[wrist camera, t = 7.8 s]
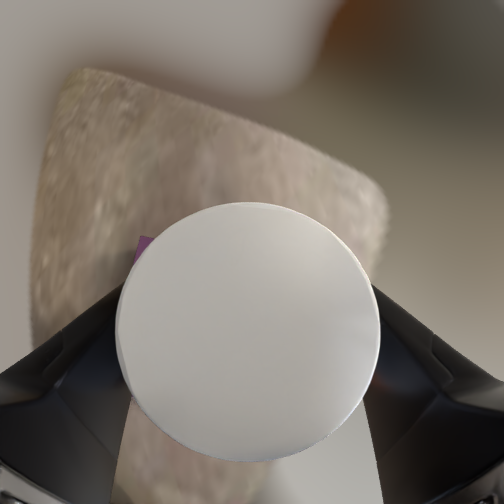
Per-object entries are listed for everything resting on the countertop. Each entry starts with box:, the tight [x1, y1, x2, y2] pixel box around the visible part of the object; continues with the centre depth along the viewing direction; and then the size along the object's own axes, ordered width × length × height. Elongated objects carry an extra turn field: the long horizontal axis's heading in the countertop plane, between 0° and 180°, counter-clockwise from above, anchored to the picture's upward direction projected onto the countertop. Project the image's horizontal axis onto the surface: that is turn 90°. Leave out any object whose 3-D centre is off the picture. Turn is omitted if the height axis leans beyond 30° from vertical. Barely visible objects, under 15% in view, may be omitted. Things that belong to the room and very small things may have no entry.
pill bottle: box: [115, 202, 380, 462], centre depth 10 cm, size 6×6×11 cm
